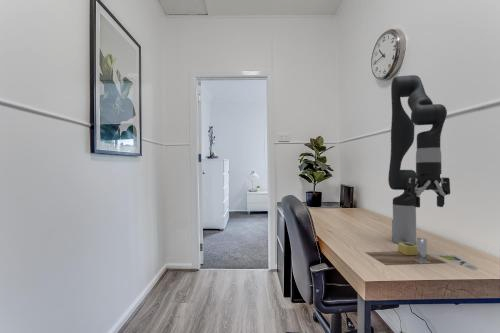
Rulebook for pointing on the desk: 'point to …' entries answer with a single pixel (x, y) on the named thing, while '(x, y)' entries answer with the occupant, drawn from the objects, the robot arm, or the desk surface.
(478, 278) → the desk surface
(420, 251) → the metal cylinder
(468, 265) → the handheld gaming device
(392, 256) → the board
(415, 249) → the yellow square block
